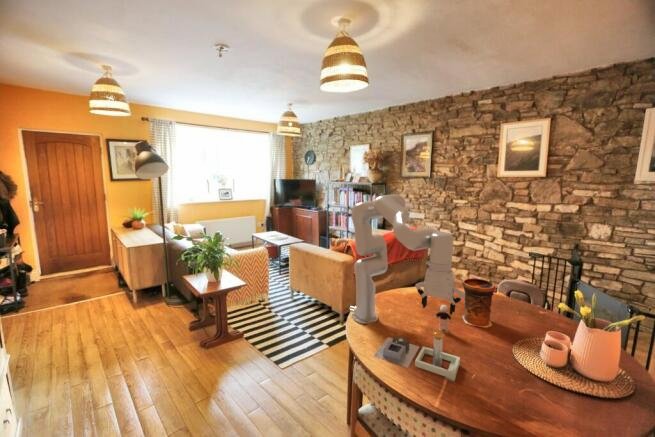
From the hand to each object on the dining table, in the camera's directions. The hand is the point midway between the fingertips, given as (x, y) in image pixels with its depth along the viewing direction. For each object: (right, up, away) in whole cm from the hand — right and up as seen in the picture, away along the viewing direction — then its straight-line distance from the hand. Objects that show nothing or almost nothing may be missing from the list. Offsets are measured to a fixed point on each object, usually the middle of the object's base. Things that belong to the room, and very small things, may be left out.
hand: (437, 309), depth 112 cm
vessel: (+32, -17, +36) cm, 52 cm away
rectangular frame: (+1, -23, +3) cm, 23 cm away
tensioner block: (-13, -21, +11) cm, 27 cm away
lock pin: (+1, -22, +3) cm, 22 cm away
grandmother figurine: (+13, -18, +28) cm, 36 cm away
